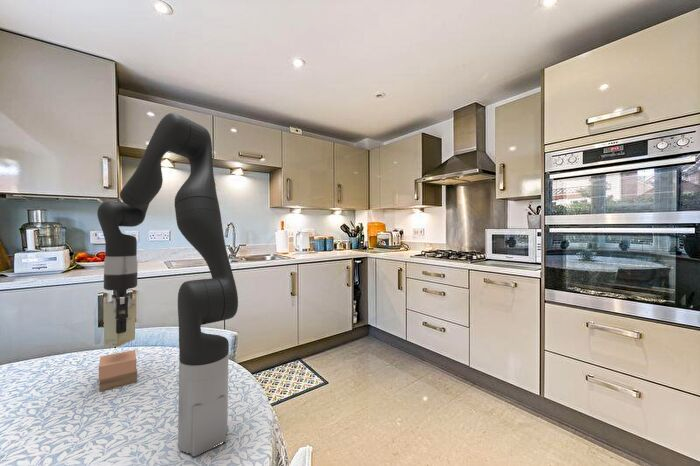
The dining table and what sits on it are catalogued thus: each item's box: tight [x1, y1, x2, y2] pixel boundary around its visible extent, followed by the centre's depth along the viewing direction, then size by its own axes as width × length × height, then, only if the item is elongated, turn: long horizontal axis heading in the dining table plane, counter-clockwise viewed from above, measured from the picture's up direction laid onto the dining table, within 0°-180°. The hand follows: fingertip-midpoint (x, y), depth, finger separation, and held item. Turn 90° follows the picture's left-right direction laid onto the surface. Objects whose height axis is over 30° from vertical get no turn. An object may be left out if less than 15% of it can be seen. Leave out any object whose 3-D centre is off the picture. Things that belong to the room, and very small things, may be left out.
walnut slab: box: [99, 368, 138, 393], centre depth 82 cm, size 8×8×4 cm
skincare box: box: [103, 298, 136, 348], centre depth 82 cm, size 6×4×12 cm
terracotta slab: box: [98, 349, 137, 381], centre depth 82 cm, size 8×8×4 cm
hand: (120, 329), depth 82 cm, fingers closed on skincare box, 7 cm apart
